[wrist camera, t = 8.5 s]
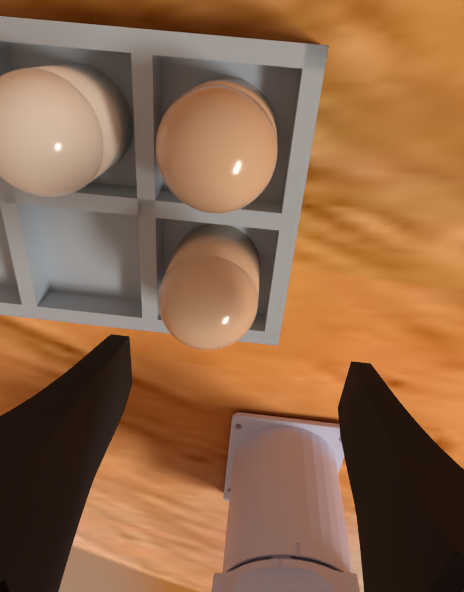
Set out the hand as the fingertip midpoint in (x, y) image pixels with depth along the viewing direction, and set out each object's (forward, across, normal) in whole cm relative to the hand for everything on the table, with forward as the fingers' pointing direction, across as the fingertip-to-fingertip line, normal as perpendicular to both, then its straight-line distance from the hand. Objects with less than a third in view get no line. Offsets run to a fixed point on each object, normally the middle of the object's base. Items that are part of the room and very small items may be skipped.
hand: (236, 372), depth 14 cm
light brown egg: (+9, +8, -6) cm, 13 cm away
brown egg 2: (+9, +2, +1) cm, 9 cm away
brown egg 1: (+9, +2, -6) cm, 11 cm away
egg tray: (+10, +8, -2) cm, 13 cm away
